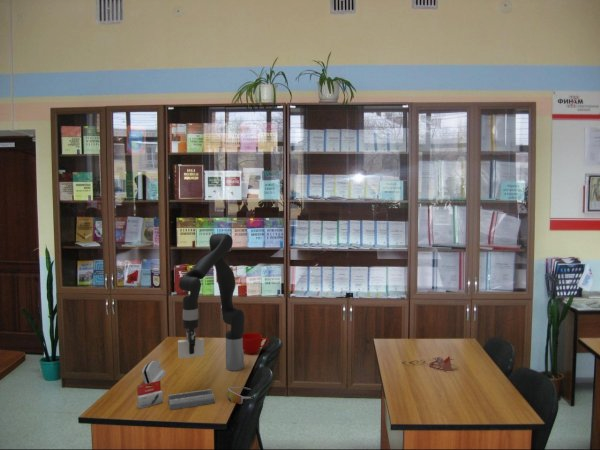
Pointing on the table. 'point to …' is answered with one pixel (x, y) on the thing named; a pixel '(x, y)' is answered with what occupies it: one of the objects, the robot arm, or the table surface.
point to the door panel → (184, 348)
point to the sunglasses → (236, 395)
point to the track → (190, 399)
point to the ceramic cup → (252, 342)
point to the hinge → (153, 372)
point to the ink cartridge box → (149, 394)
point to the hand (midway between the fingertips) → (191, 352)
